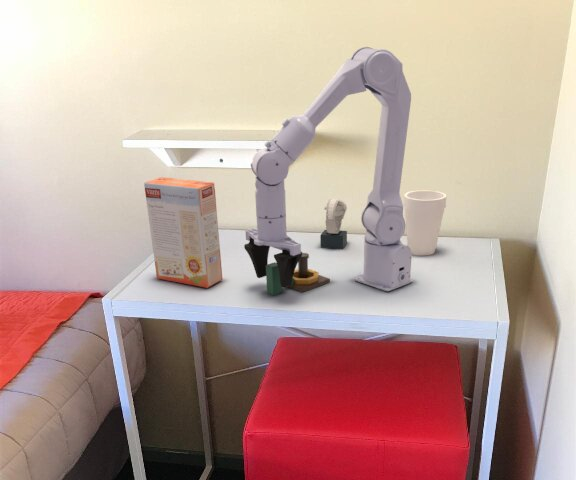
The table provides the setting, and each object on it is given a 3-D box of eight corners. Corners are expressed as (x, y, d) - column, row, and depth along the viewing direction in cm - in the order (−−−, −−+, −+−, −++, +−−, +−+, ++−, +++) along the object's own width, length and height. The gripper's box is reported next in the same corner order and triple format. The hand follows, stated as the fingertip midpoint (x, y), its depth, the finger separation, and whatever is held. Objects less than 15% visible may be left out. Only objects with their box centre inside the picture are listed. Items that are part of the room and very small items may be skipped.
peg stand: (330, 282, 140) (330, 254, 137) (302, 292, 135) (301, 264, 132) (304, 273, 145) (303, 246, 142) (276, 282, 141) (275, 254, 138)
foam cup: (442, 258, 151) (447, 200, 144) (400, 257, 152) (404, 200, 146) (440, 245, 159) (445, 190, 152) (401, 244, 160) (404, 189, 154)
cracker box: (224, 280, 143) (215, 181, 132) (207, 289, 138) (197, 188, 128) (173, 270, 149) (161, 175, 139) (155, 279, 145) (142, 181, 134)
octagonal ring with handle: (304, 274, 144) (303, 248, 141) (324, 282, 140) (324, 255, 137) (260, 290, 137) (258, 262, 134) (280, 298, 133) (279, 270, 130)
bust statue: (348, 241, 164) (349, 196, 158) (341, 251, 157) (341, 204, 152) (326, 239, 165) (326, 195, 160) (318, 249, 159) (318, 203, 153)
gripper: (231, 211, 130) (236, 277, 137) (280, 226, 121) (282, 296, 127) (259, 204, 134) (262, 268, 141) (308, 218, 125) (309, 286, 131)
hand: (273, 281), depth 134 cm, fingers open, 7 cm apart
